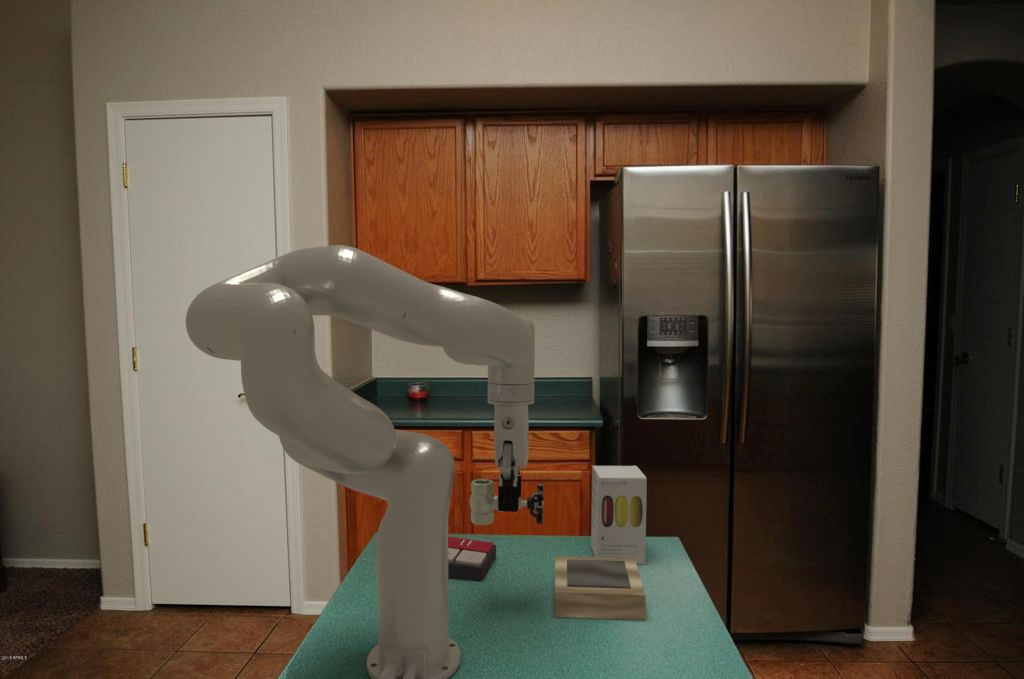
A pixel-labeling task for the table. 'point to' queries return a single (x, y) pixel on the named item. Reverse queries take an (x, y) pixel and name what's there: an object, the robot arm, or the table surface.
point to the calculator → (469, 558)
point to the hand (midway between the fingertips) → (509, 503)
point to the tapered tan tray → (598, 588)
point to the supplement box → (619, 512)
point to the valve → (487, 502)
